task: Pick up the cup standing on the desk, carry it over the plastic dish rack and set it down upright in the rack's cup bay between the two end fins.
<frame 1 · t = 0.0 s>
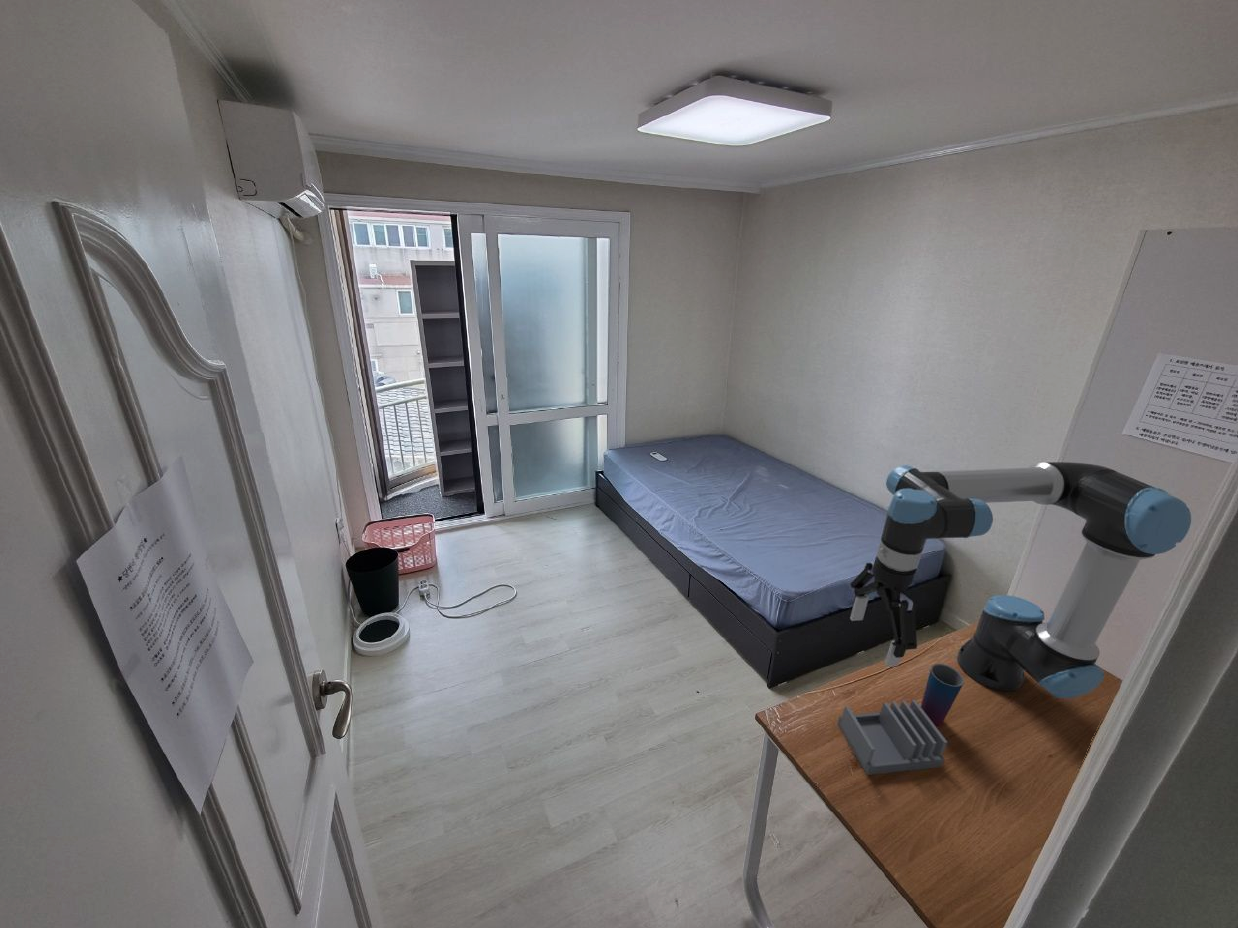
hand: (872, 640, 110), 28 cm above the table, fingers open, 13 cm apart
rack: (887, 744, 118), on the table
cup: (929, 718, 125), on the table
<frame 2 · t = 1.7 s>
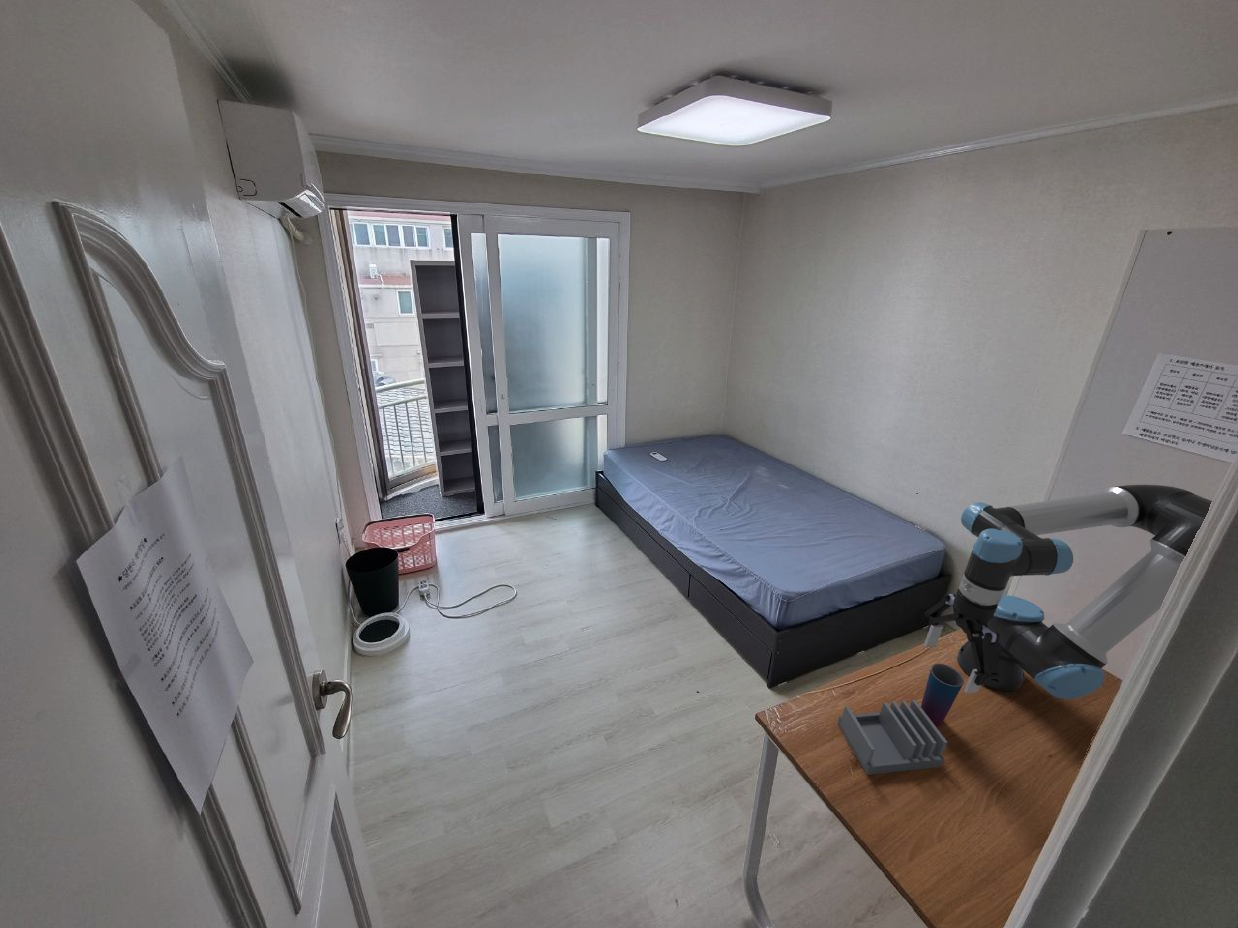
hand: (949, 667, 117), 17 cm above the table, fingers open, 13 cm apart
nothing on the table moved.
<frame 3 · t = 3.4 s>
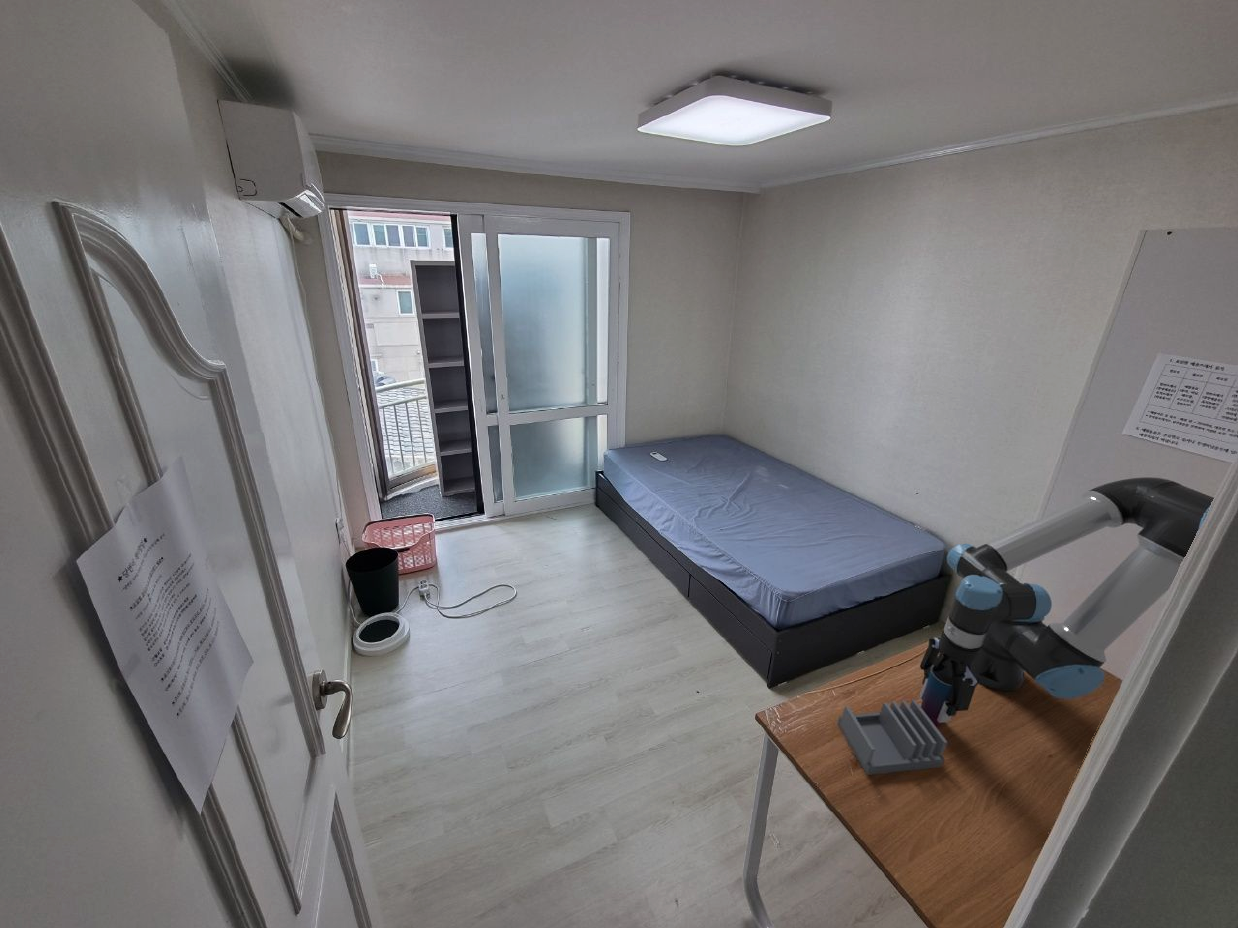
hand: (933, 708, 123), 3 cm above the table, fingers closed on cup, 6 cm apart
cup: (929, 718, 125), on the table, touching gripper
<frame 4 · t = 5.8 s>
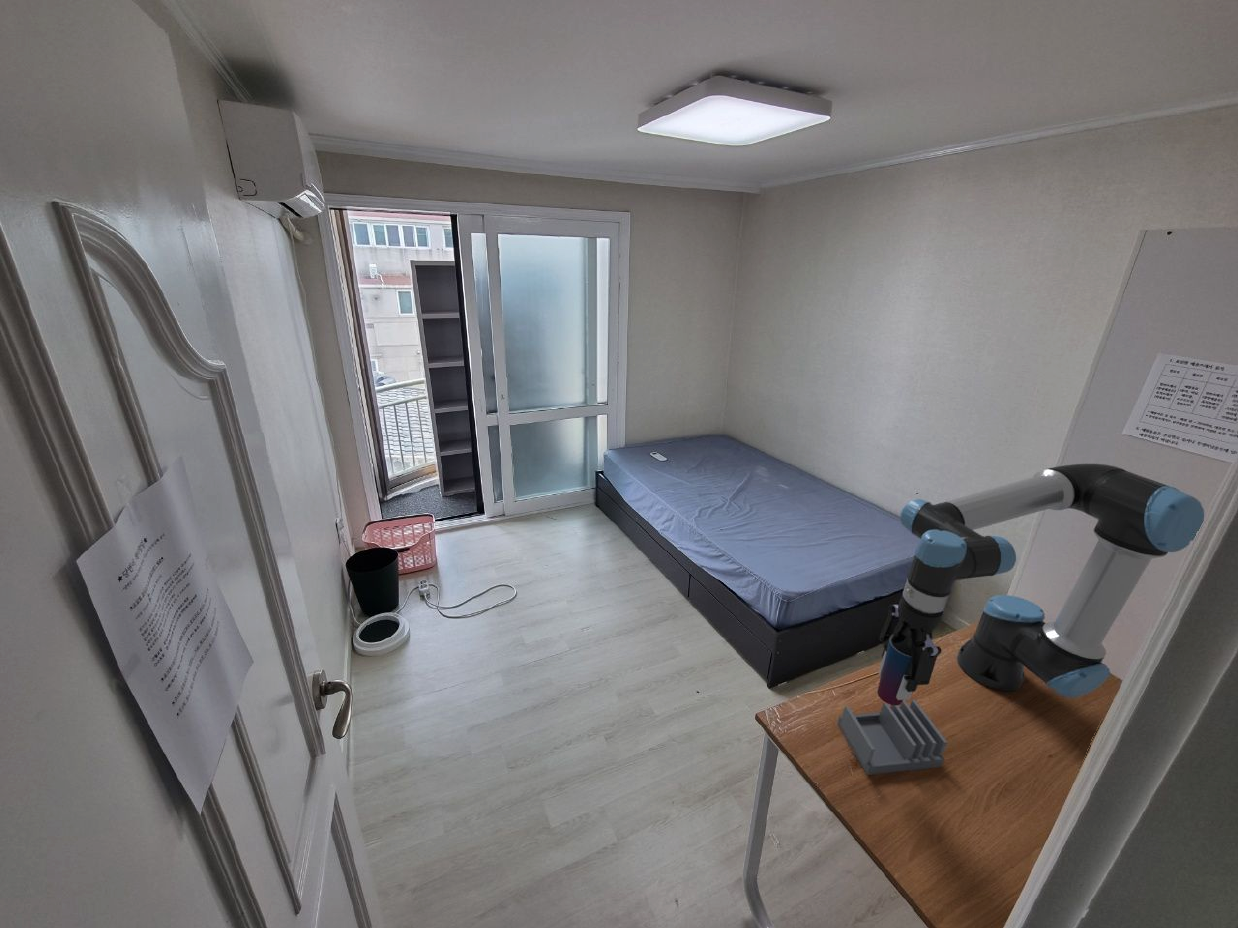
hand: (893, 685, 110), 19 cm above the table, fingers closed on cup, 6 cm apart
cup: (889, 696, 111), point 16 cm above the table, touching gripper
when the fingers open (7 cm above the table, at t = 8.5 s): cup drops 2 cm, resting on rack.
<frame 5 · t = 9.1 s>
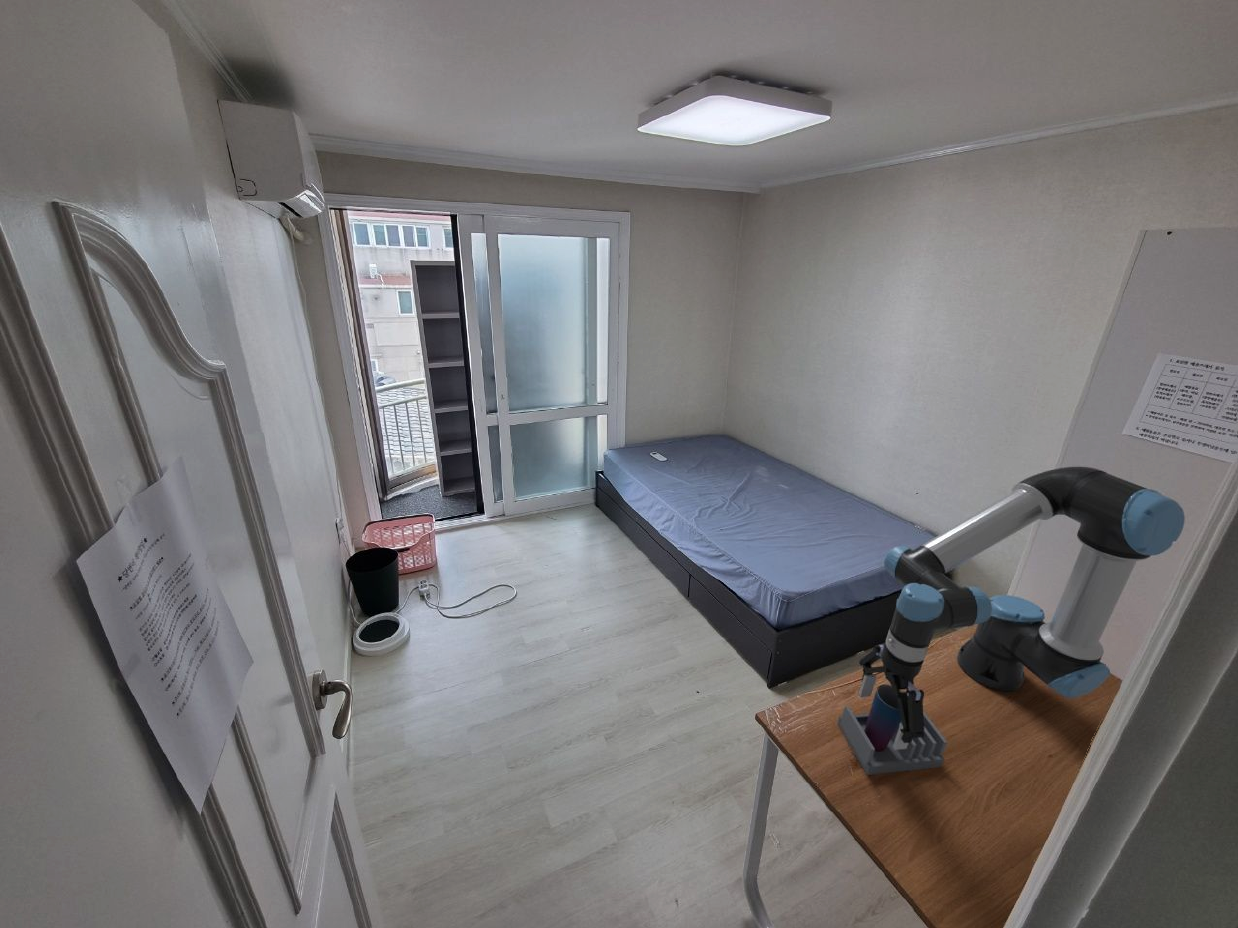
hand: (880, 720, 114), 9 cm above the table, fingers open, 13 cm apart
cup: (873, 742, 117), point 1 cm above the table, touching rack
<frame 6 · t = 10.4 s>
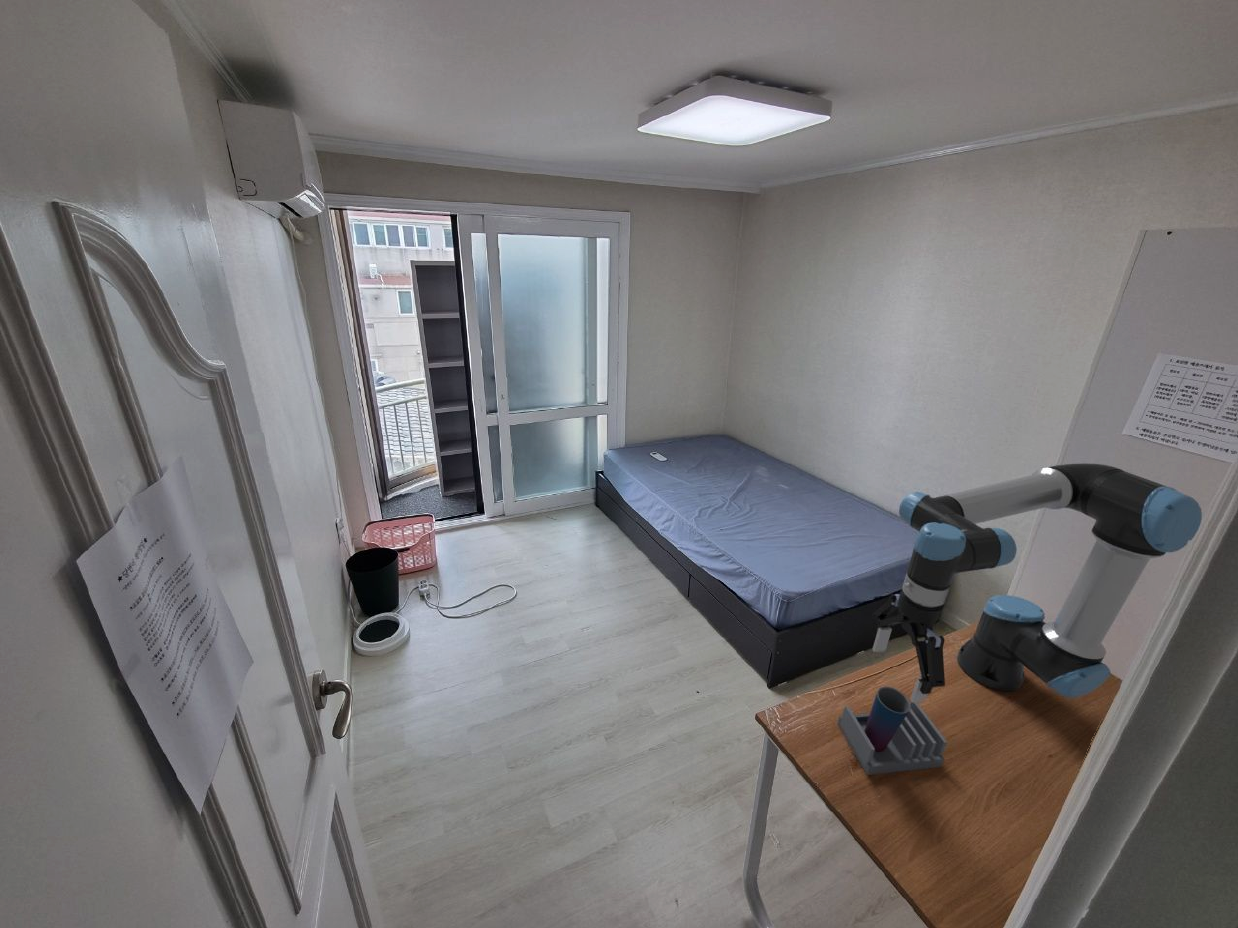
hand: (896, 673, 108), 23 cm above the table, fingers open, 13 cm apart
nothing on the table moved.
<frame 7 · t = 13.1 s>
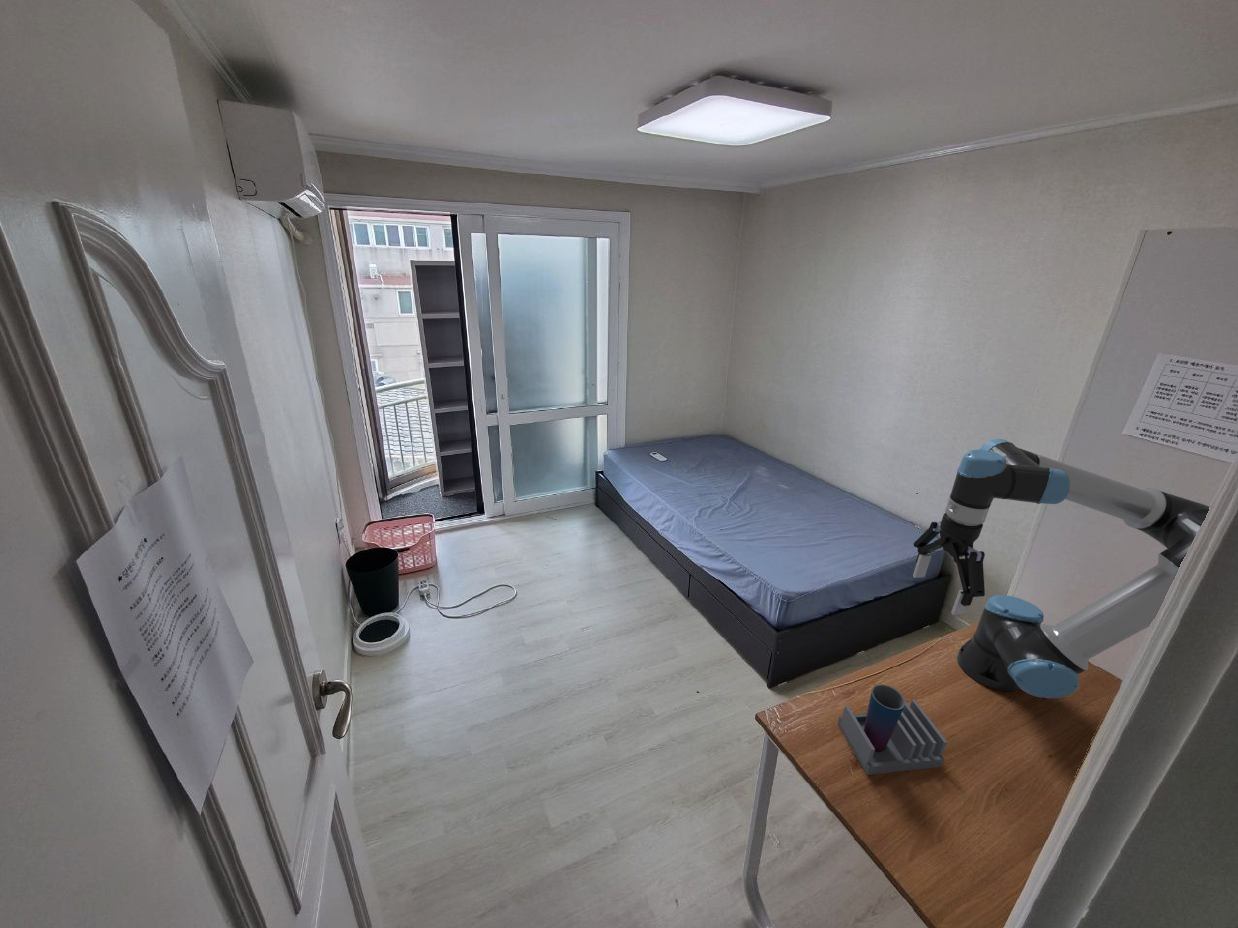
hand: (937, 594, 119), 32 cm above the table, fingers open, 13 cm apart
at the end: cup inside the target area on the rack (0.0 cm from its centre), point 1.0 cm above the rack's base; cup tilted 0°; cup touching rack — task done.
